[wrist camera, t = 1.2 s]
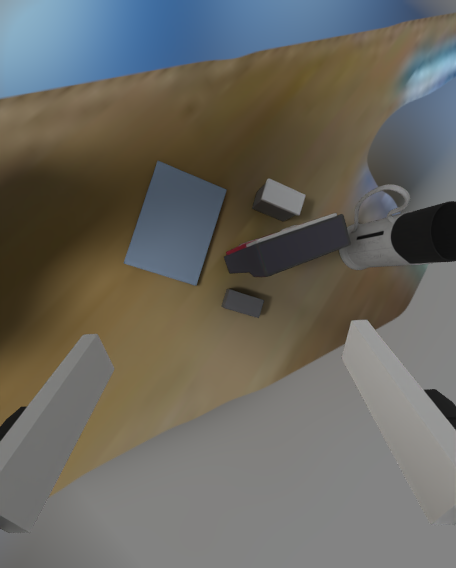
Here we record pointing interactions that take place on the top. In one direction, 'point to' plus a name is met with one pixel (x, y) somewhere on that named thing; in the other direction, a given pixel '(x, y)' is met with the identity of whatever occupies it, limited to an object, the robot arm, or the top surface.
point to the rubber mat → (175, 224)
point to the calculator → (289, 247)
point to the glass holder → (402, 236)
